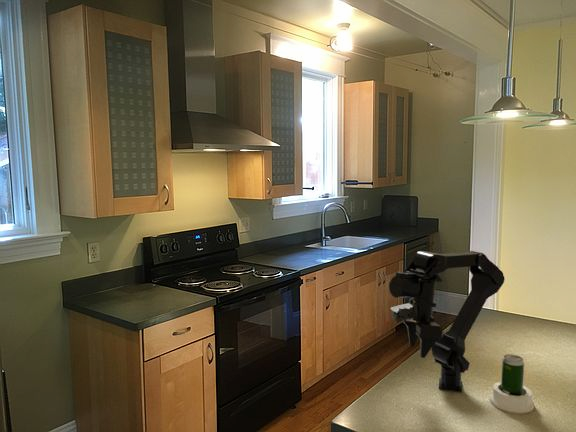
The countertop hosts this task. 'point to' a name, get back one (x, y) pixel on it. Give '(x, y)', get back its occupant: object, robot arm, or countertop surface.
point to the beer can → (512, 375)
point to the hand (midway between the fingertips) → (416, 351)
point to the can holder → (512, 400)
